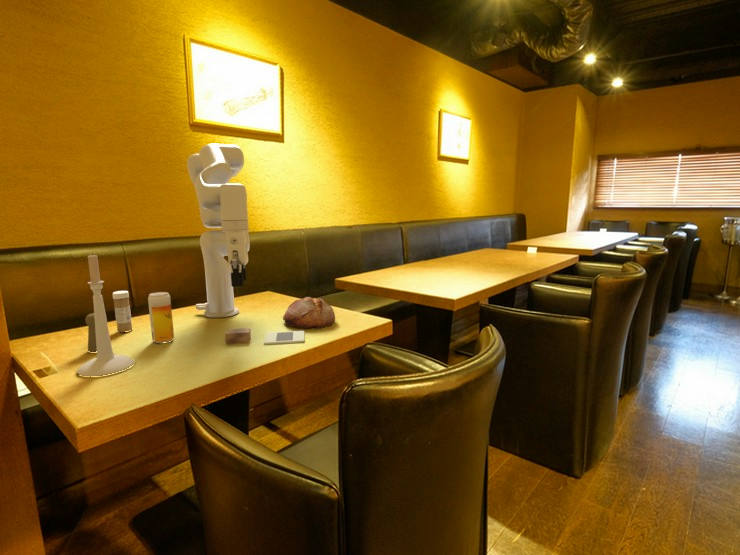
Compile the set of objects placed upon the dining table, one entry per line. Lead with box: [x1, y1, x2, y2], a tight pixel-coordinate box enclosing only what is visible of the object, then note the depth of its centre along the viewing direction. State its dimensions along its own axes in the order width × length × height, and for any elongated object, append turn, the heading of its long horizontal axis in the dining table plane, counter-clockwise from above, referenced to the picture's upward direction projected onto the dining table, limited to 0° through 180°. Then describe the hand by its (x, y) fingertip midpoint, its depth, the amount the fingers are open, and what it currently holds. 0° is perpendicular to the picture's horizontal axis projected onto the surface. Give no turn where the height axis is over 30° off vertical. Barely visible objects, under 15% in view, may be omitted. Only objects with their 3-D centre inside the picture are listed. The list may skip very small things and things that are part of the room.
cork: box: [85, 312, 108, 352], centre depth 124 cm, size 6×6×11 cm
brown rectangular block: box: [224, 327, 252, 345], centre depth 131 cm, size 7×4×4 cm, turn 102°
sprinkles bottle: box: [112, 290, 133, 333], centre depth 141 cm, size 5×5×14 cm
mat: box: [263, 330, 305, 346], centre depth 133 cm, size 12×10×1 cm
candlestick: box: [76, 253, 136, 377], centre depth 109 cm, size 13×13×30 cm
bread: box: [282, 296, 336, 330], centre depth 149 cm, size 16×20×10 cm
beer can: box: [147, 291, 175, 344], centre depth 131 cm, size 6×6×15 cm
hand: (239, 283), depth 129 cm, fingers open, 9 cm apart
